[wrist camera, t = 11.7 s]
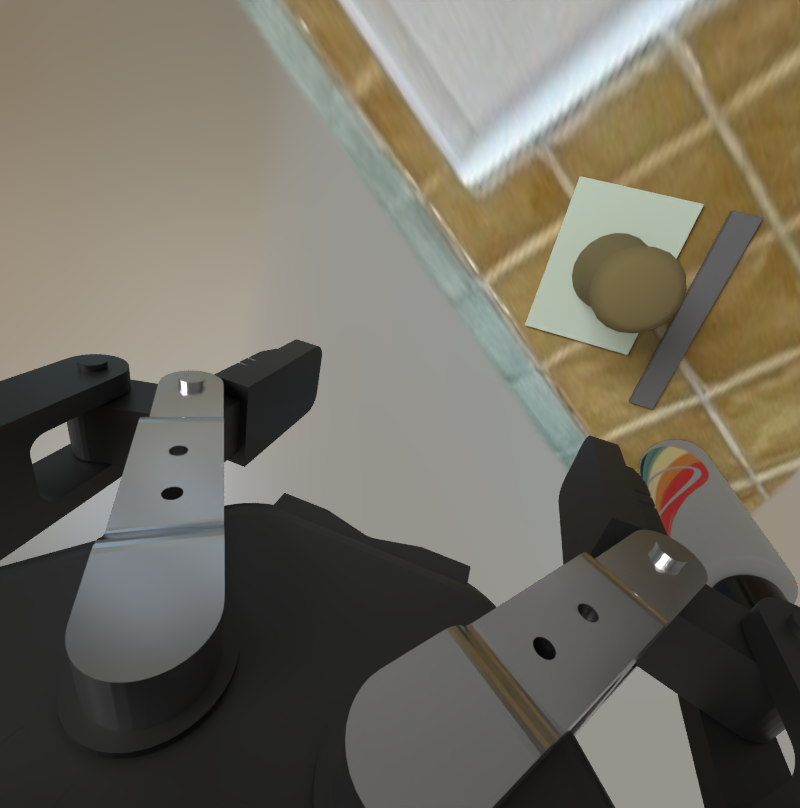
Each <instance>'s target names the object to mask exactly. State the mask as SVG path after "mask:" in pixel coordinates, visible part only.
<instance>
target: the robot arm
mask: <svg viewBox="0 0 800 808" xmlns="http://www.w3.org/2000/svg"><path fill="white" fill-rule="evenodd" d="M321 358H322V350H321V348H320V347H318V346H316V345H312V344H309V343H306V342H303V341H300V340H294V341H292V342H291V343H288V344H286V345H284V346H283V347H281V348H279V349H273V350H267V351H262V352H259V353H257V354H255V355H253V356H251V357H249V359H248V358H247V359H245V360H243V361H241V362H240V364H239V363H237V364H235V365H233V366H231V367H229V368H227V369H225V370H223V371H221V372H219V373H216V374H214V375H213V374H210V373H206V372H202V371H179V372H174V373H171V374H168V375H166V376H164V377H162V378H161V379H160V381H159V383H158V384H155V383H148V382H142V381H136V380H130V372H129V364H128V363H127V362H126V361H125V360H123V359H121V358H118V357H115V356H110V355H101V354H99V355H98V354H90V355H81V356H75V357H71V358H67V359H64V360H61V361H58V362H56V363H53V364H50V365H47V366H44V367H41V368H38V369H35V370H32V371H29V372H26V373H23V374H20V375H17V376H14V377H11V378H9V379H6V380H3V381H0V560H2V559H3V558H4V557H6V556H7V555H9V554H10V553H12V552H13V551H15V550H16V549H17V548H19V547H20V546H22V545H23V544H25V543H26V542H28V541H29V540H30V539H32V538H33V537H34V536H36V535H38V534H39V533H40V532H42V531H43V530H45V529H46V528H48V527H49V526H51V525H52V524H53V523H55V522H56V521H58V520H59V519H61V518H62V517H64V516H65V515H67V514H68V513H69V512H71V511H72V510H74V509H75V508H77V507H78V506H80V505H81V504H82V503H84V502H85V501H86V500H88V499H90V498H91V497H92V496H94V495H95V494H97V493H98V492H100V491H101V490H103V489H104V488H105V487H107V486H108V485H110V484H111V483H113V482H114V481H116V480H117V479H118V478H120V477H121V476H122V478H121V481H120V485H119V488H118V491H117V495H116V498H115V501H114V504H113V508H112V511H111V515H110V518H109V521H108V524H107V528H106V531H105V533H104V535H103V536H102V537H101V538H98V539H97V540H96V541H92V542H89V543H85V544H82V545H78V546H74V547H71V548H67V549H64V550H60V551H56V552H52V553H49V554H45V555H41V556H38V557H34V558H30V559H27V560H23V561H20V562H16V563H13V564H9V565H5V566H1V567H0V808H615V806H614V805H613V803H612V801H611V799H610V798H609V796H608V794H607V793H606V791H605V789H604V787H603V785H602V784H601V782H600V780H599V778H598V777H597V775H596V773H595V771H594V770H593V768H592V766H591V764H590V762H589V761H588V759H587V757H586V755H585V754H584V752H583V750H582V749H581V747H580V745H579V743H578V741H577V740H576V738H575V735H576V734H577V733H578V732H579V731H580V730H581V728H582V727H583V726H584V725H585V724H586V722H587V721H588V720H589V719H590V718H591V717H592V716H593V715H594V714H595V712H596V711H597V710H598V709H599V708H600V707H601V706H602V705H603V704H604V702H605V701H606V700H607V699H608V698H609V697H610V696H611V695H612V694H613V693H614V691H615V690H616V689H617V688H618V687H619V686H620V685H621V684H622V682H623V681H624V680H625V679H626V678H627V677H628V676H629V675H630V674H631V673H632V672H633V670H634V669H635V668H636V667H637V666H638V667H640V668H641V669H642V670H644V671H645V672H647V673H648V674H650V675H651V676H653V677H654V678H656V679H657V680H658V681H660V682H661V683H663V684H664V685H666V686H667V687H668V688H670V689H672V690H673V691H674V692H676V693H677V694H678V698H679V702H680V707H681V711H682V715H683V719H684V723H685V728H686V732H687V736H688V740H689V744H690V748H691V753H692V756H693V761H694V765H695V770H696V774H697V778H698V781H699V786H700V790H701V795H702V798H703V803H704V807H705V808H800V607H798V606H796V605H794V604H792V603H790V602H788V601H785V600H782V599H778V598H774V597H765V598H763V599H761V600H760V601H759V602H758V603H757V604H756V605H755V606H754V607H753V608H752V609H751V610H750V609H748V608H746V607H745V606H743V605H741V604H739V603H738V602H736V601H734V600H732V599H730V598H729V597H727V596H725V595H723V594H722V593H720V592H718V591H716V590H715V589H713V588H711V587H710V586H708V585H707V584H706V583H707V581H708V575H707V572H706V569H705V567H704V566H703V564H702V563H701V562H700V560H699V559H698V558H697V557H696V556H695V555H694V554H693V553H692V552H691V551H690V550H688V549H687V548H686V547H685V546H683V545H682V544H680V543H679V542H677V541H676V540H674V539H672V538H670V537H668V535H667V533H666V530H665V528H664V526H663V523H662V521H661V518H660V516H659V513H658V511H657V509H656V508H655V504H654V501H653V499H652V497H650V496H651V494H650V491H649V489H648V487H647V484H646V482H645V481H644V480H643V479H642V478H641V477H640V475H639V474H638V473H637V472H636V471H635V470H634V469H633V468H630V467H627V466H626V464H625V461H624V459H623V456H622V453H621V450H620V447H619V445H617V444H614V443H611V442H608V441H605V440H602V439H599V438H596V437H593V436H588V437H587V438H586V439H585V441H584V442H583V444H582V446H581V448H580V450H579V452H578V454H577V456H576V458H575V460H574V462H573V464H572V466H571V468H570V470H569V472H568V473H567V475H566V477H565V479H564V482H563V484H562V487H561V490H560V495H559V512H560V525H561V537H562V550H563V564H564V565H563V566H561V567H559V568H558V569H556V570H555V571H553V572H552V573H550V574H548V575H547V576H545V577H544V578H542V579H541V580H539V581H538V582H536V583H534V584H533V585H531V586H530V587H528V588H526V589H525V590H524V591H522V592H520V593H519V594H517V595H515V596H514V597H512V598H511V599H509V600H508V601H506V602H505V603H503V604H501V605H500V606H498V607H496V606H495V605H494V604H493V603H492V602H491V601H490V600H489V599H488V598H487V597H486V596H484V595H483V594H482V593H481V592H480V591H478V590H477V589H476V588H475V587H473V586H472V585H470V584H469V583H467V582H468V577H469V571H470V566H468V565H465V564H462V563H460V562H458V561H455V560H452V559H450V558H447V557H445V556H443V555H440V554H437V553H435V552H432V551H430V550H427V549H424V548H422V547H417V546H412V545H406V544H401V543H396V542H390V541H385V540H379V539H374V538H371V537H368V536H366V535H364V534H363V533H361V532H360V531H358V530H357V529H355V528H354V527H352V526H351V525H349V524H348V523H346V522H345V521H343V520H342V519H340V518H339V517H337V516H336V515H334V514H333V513H331V512H330V511H328V510H326V509H324V508H321V507H319V506H316V505H314V504H311V503H309V502H306V501H303V500H301V499H299V498H296V497H294V496H291V495H289V494H286V493H284V494H283V495H282V496H281V498H280V499H279V500H278V501H277V502H276V503H275V504H274V505H270V504H259V503H242V504H233V505H226V506H224V462H225V461H226V460H229V461H231V462H234V463H236V464H239V465H241V466H244V467H245V466H246V465H247V464H248V463H249V462H251V461H252V460H253V459H254V458H255V457H256V456H257V455H258V454H260V453H261V452H262V451H263V450H264V449H266V448H267V447H268V446H269V445H270V444H271V443H273V442H274V441H275V440H276V439H277V438H278V437H280V436H281V435H282V434H283V433H284V432H285V431H286V430H288V429H289V428H290V427H291V426H292V425H294V424H295V423H296V422H297V421H298V420H299V419H300V418H302V417H303V416H304V415H305V414H306V413H307V412H308V411H309V410H310V409H311V407H312V406H313V404H314V401H315V398H316V394H317V388H318V380H319V373H320V365H321ZM65 422H67V425H68V431H69V436H70V441H71V444H69V445H67V446H65V447H63V448H62V449H60V450H58V451H56V452H54V453H52V454H50V455H49V456H47V457H45V458H43V459H41V460H39V461H37V462H36V463H34V464H32V462H31V458H30V449H31V446H32V444H33V443H34V441H35V440H36V439H37V438H38V437H39V436H40V435H41V434H43V433H44V432H46V431H48V430H50V429H52V428H55V427H57V426H59V425H61V424H63V423H65ZM784 729H786V731H787V733H788V735H789V738H790V740H791V743H792V745H793V749H794V753H795V769H794V773H793V775H792V776H791V773H790V771H789V768H788V766H787V763H786V761H785V758H784V756H783V754H782V751H781V749H780V746H779V744H778V742H777V739H776V736H777V735H778V734H780V733H781V732H782V731H783V730H784Z"/></svg>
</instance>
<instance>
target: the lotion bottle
mask: <svg viewBox="0 0 800 808" xmlns="http://www.w3.org/2000/svg"><path fill="white" fill-rule="evenodd" d="M639 469H640V475H641V478H642V479H643V480H644V481H645V482H646V484H647V487H648V489H649V491H650V494H651V496H650V497H652V499H653V501H654V504H655V508H656V509H657V511H658V513H659V516H660V518H661V521H662V523H663V526H664V528H665V530H666V533H667V535H668V537H670V538H672V539H674V540H676V541H677V542H679V543H680V544H682V545H683V546H685V547H686V548H687V549H688V550H690V551H691V552H692V553H693V554H694V555H695V556H696V557H697V558H698V559H699V560H700V562H701V563H702V564H703V566H704V567H705V569H706V572H707V575H708V581H707V583H706V584H707V585H708V586H710V587H711V588H713V589H715V590H716V591H718V592H720V593H722V594H723V595H725V596H727V597H729V598H730V599H732V600H734V601H736V602H738V603H739V604H741V605H743V606H745V607H746V608H748V609H750V610H751V609H752V608H753V607H754V606H755V605H756V604H757V603H758V602H759V601H760V600H761V599H763V598H765V597H774V598H778V599H782V600H785V601H788V602H790V603H792V604H794V603H795V601H796V599H797V595H798V587H797V583H796V581H795V578H794V576H793V575H792V573H791V572H790V570H789V569H788V568H787V566H786V564H785V563H784V562H783V560H782V559H781V557H780V556H779V554H778V553H777V552H776V550H775V549H774V547H773V546H772V545H771V543H770V542H769V540H768V539H767V537H766V536H765V535H764V533H763V532H762V531H761V529H760V528H759V526H758V525H757V524H756V522H755V521H754V519H753V518H752V516H751V515H750V514H749V512H748V511H747V509H746V508H745V507H744V505H743V504H742V503H741V501H740V500H739V498H738V497H737V496H736V494H735V493H734V491H733V490H732V489H731V487H730V486H729V484H728V483H727V482H726V480H725V479H724V477H723V476H722V475H721V473H720V472H719V470H718V469H717V468H716V466H715V465H714V463H713V462H712V461H711V459H710V458H709V457H708V456H707V454H706V453H705V452H704V451H703V450H702V449H701V448H700V447H698V446H697V445H695V444H693V443H691V442H688V441H683V440H667V441H663V442H660V443H657V444H655V445H654V446H652V447H650V448H649V449H648V450H647V451H646V452H645V453H644V454H643V456H642V458H641V460H640V466H639Z"/></svg>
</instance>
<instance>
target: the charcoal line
mask: <svg viewBox="0 0 800 808" xmlns="http://www.w3.org/2000/svg"><path fill="white" fill-rule="evenodd" d="M762 219H763V218H762V217H758V216H753V215H749V214H744V213H740V212H736V211H731V212H730V214H729V216H728V218H727V219H726V221H725V223H724V225H723V227H722V229H721V231H720V232H719V234H718V236H717V238H716V240H715V242H714V244H713V245H712V247H711V249H710V251H709V253H708V255H707V256H706V258H705V260H704V262H703V264H702V266H701V268H700V269H699V271H698V273H697V275H696V277H695V279H694V281H693V282H692V284H691V286H690V288H689V290H688V292H687V294H686V295H685V297H684V299H683V302H682V304H681V306H680V307H679V308H678V310H677V312H676V314H675V316H674V318H673V320H672V321H671V323H670V325H669V327H668V329H667V331H666V332H665V334H664V336H663V338H662V340H661V342H660V344H659V345H658V347H657V349H656V351H655V353H654V355H653V357H652V358H651V360H650V362H649V364H648V366H647V368H646V370H645V371H644V373H643V375H642V377H641V379H640V381H639V383H638V384H637V386H636V388H635V390H634V392H633V394H632V396H631V397H630V399H629V402H630V403H633V404H637V405H640V406H643V407H646V408H650V409H653V408H654V406H655V404H656V403H657V401H658V399H659V397H660V396H661V394H662V392H663V391H664V389H665V387H666V385H667V384H668V382H669V380H670V378H671V377H672V375H673V373H674V371H675V370H676V368H677V366H678V365H679V363H680V361H681V359H682V358H683V356H684V354H685V352H686V351H687V349H688V347H689V345H690V344H691V342H692V340H693V338H694V337H695V335H696V333H697V332H698V330H699V328H700V326H701V325H702V323H703V321H704V319H705V318H706V316H707V314H708V312H709V311H710V309H711V307H712V306H713V304H714V302H715V300H716V299H717V297H718V295H719V293H720V292H721V290H722V288H723V286H724V285H725V283H726V281H727V280H728V278H729V276H730V274H731V273H732V271H733V269H734V267H735V266H736V264H737V262H738V260H739V259H740V257H741V255H742V254H743V252H744V250H745V248H746V247H747V245H748V243H749V241H750V240H751V238H752V236H753V234H754V233H755V231H756V229H757V227H758V226H759V224H760V222H761V221H762Z"/></svg>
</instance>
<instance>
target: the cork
mask: <svg viewBox="0 0 800 808" xmlns="http://www.w3.org/2000/svg"><path fill="white" fill-rule="evenodd" d="M572 283H573V288H574V290H575V292H576V294H577V296H578V298H579V299H581V300H582V301H583V302H584V303H585V304H586V305H588V306H590V307H592V309H593V311H594V313H595V315H596V317H597V319H598V320H599V321H600V322H602V323H603V324H604V325H605V326H606V327H608V328H610V329H612V330H615V331H617V332H623V333H634V334H635V333H640V332H646V331H650V330H652V329H654V328H656V327H658V326H661V325H662V324H664V323H665V322H666V321H667V320H669V319H670V318H671V317H672V316H673V315H674V314H675V313H676V311H677V310H678V308H679V307H680V306H681V304H682V302H683V299H684V296H685V293H686V275H685V272H684V270H683V268H682V266H681V263H680V262H679V261H678V260H677V259H676V258H675V257H674V256H673V255H672V254H671V253H669V252H667V251H664V250H662V249H659V248H657V247H648V246H647V245H646V244H645V243H644V242H643V241H642V240H641V239H640V238H638V237H635V236H633V235H630V234H627V233H613V234H609V235H605V236H601V237H600V238H598V239H596V240H594V241H593V242H591V243H589V244H588V245H587V247H586V248H585V249H584V250H583V251H582V252H581V253H580V254H579V256H578V258H577V260H576V262H575V263H574V267H573V272H572Z"/></svg>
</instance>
